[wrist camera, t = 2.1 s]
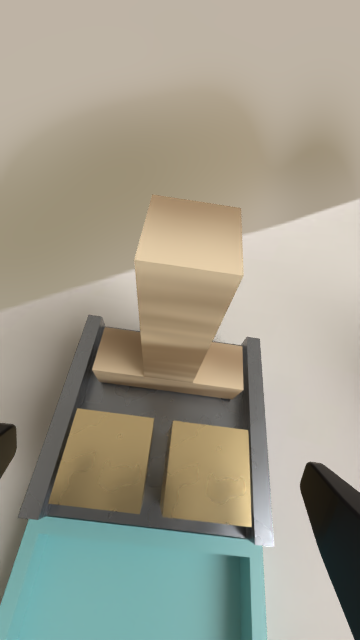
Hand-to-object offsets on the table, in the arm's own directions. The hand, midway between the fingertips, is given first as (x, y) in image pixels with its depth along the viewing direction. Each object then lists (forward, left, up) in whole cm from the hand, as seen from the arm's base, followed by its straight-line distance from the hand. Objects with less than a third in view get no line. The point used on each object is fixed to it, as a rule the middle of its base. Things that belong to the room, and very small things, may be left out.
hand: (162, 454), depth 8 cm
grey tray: (+2, +2, -13) cm, 13 cm away
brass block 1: (-2, +2, -9) cm, 9 cm away
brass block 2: (+2, -2, -9) cm, 9 cm away
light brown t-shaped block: (+4, +5, -9) cm, 11 cm away
